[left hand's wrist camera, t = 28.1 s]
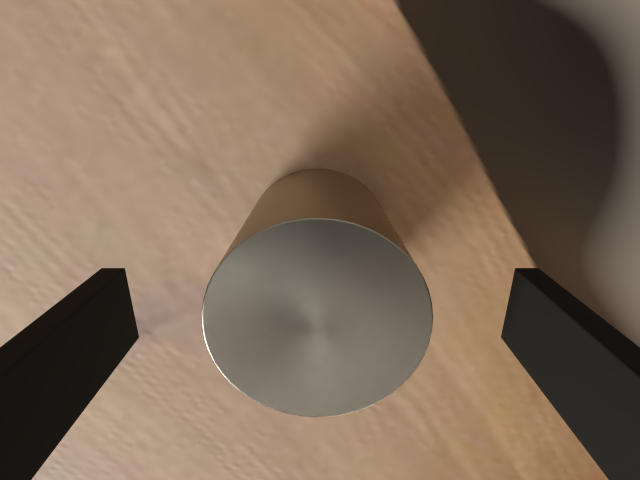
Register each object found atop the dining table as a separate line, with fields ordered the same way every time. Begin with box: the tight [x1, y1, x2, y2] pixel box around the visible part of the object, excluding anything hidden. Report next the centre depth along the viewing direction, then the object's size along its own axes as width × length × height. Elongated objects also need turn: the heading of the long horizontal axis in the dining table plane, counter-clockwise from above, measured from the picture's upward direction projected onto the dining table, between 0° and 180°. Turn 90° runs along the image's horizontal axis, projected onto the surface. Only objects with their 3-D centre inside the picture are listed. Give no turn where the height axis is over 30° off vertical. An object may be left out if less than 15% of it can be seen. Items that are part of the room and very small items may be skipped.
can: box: [202, 169, 433, 417], centre depth 16 cm, size 7×7×8 cm
